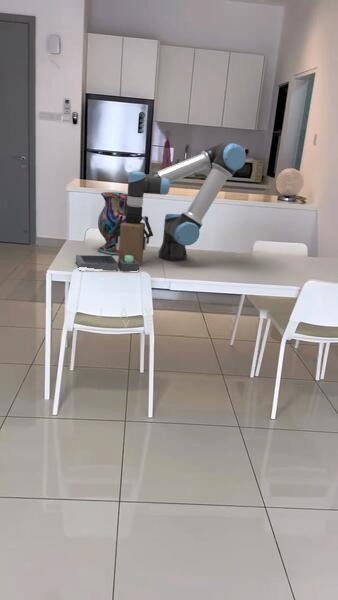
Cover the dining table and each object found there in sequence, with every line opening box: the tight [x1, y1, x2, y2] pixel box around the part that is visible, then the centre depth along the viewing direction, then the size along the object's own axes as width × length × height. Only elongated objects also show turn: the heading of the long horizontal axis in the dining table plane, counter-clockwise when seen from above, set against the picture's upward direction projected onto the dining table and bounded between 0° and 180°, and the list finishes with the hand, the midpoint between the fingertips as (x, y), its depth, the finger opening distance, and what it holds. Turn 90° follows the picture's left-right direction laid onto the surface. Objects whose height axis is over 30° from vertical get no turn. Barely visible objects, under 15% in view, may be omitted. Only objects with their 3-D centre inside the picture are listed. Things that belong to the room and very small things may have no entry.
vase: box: [97, 191, 128, 255], centre depth 253 cm, size 18×18×30 cm
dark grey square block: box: [117, 258, 140, 272], centre depth 225 cm, size 8×8×4 cm
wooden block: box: [118, 221, 146, 266], centre depth 234 cm, size 10×10×20 cm
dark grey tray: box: [75, 254, 119, 272], centre depth 225 cm, size 17×15×4 cm
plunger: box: [124, 255, 134, 263], centre depth 224 cm, size 4×4×5 cm
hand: (131, 249), depth 234 cm, fingers closed on wooden block, 13 cm apart
